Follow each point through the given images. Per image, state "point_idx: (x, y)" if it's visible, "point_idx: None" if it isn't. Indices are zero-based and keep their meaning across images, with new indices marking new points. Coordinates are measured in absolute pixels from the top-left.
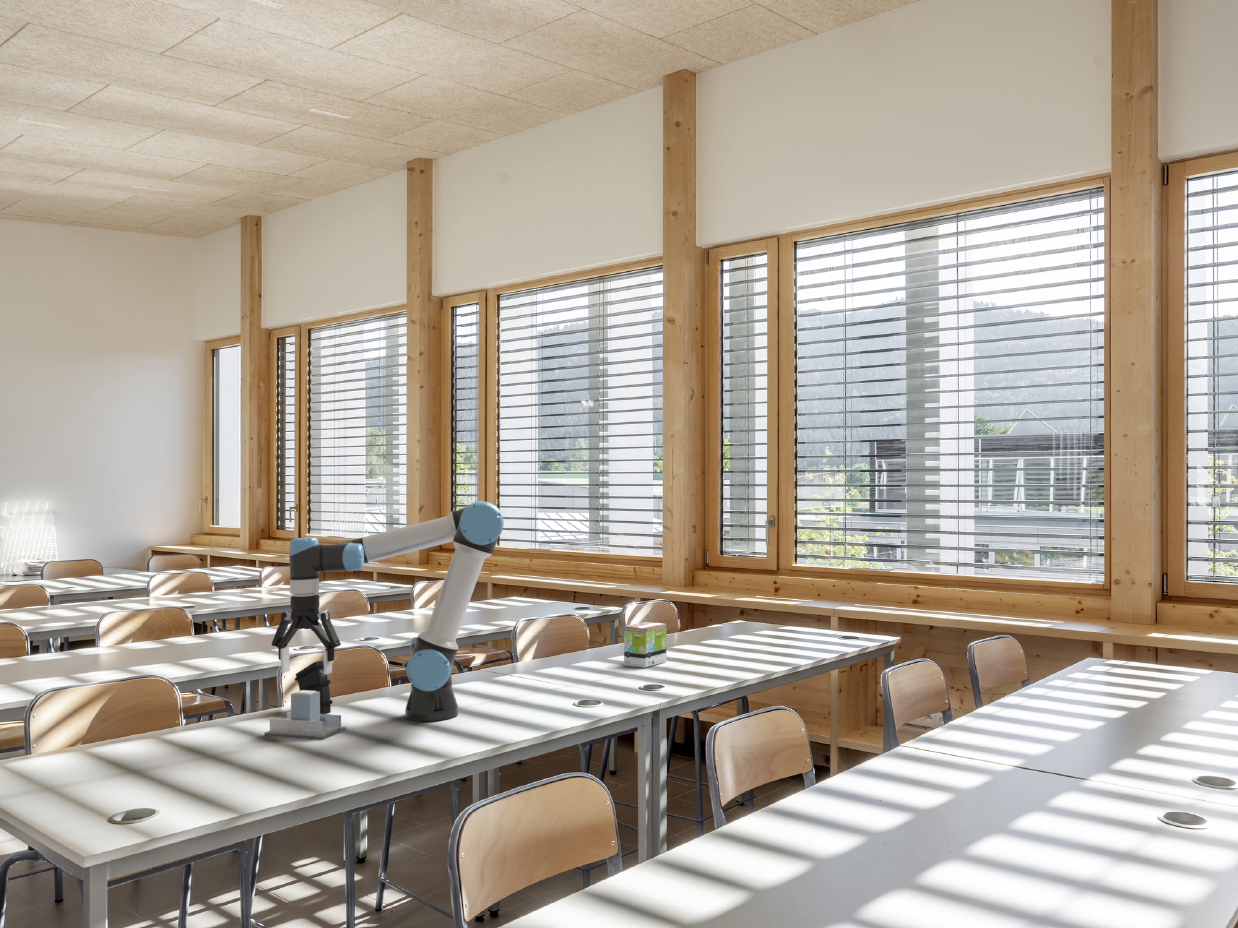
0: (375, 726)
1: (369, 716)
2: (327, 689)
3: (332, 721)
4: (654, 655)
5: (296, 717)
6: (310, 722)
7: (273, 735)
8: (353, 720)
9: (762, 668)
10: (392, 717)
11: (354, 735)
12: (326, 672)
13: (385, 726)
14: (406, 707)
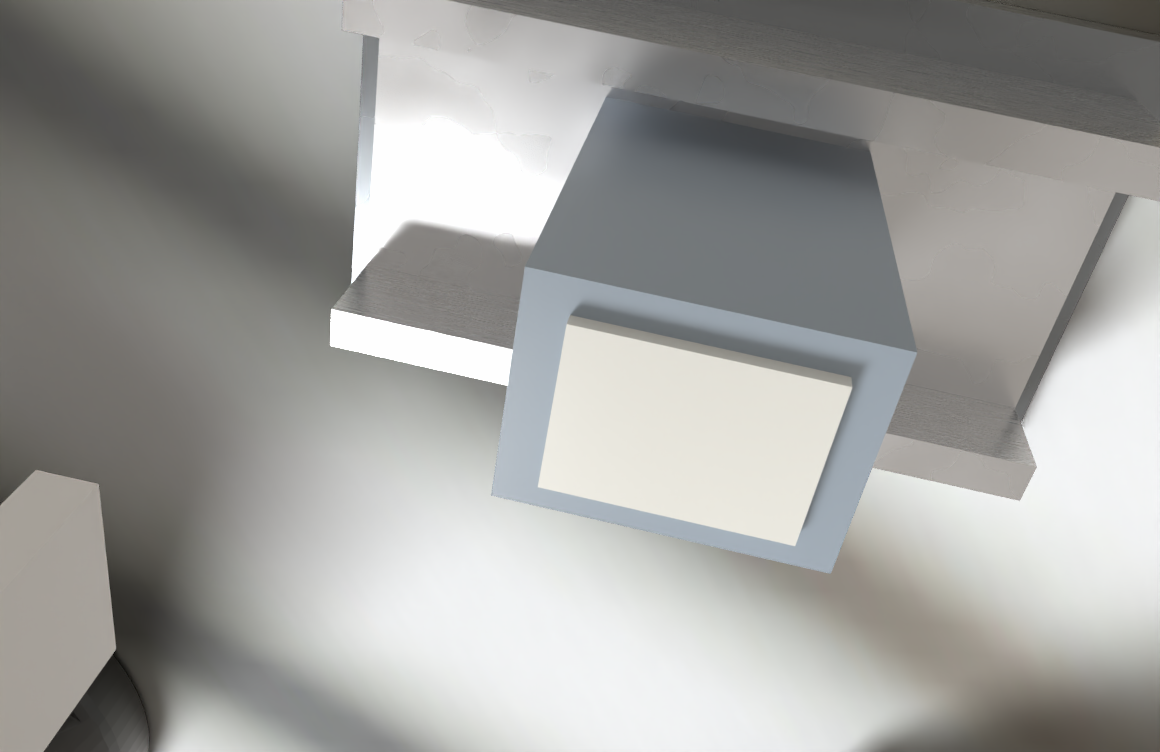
0: (169, 413)
1: (401, 691)
2: None
3: (434, 296)
4: None
5: (794, 178)
6: (532, 14)
7: (1055, 17)
8: (465, 594)
9: None
10: (209, 655)
11: (156, 97)
12: (10, 497)
13: (88, 411)
14: (73, 717)
